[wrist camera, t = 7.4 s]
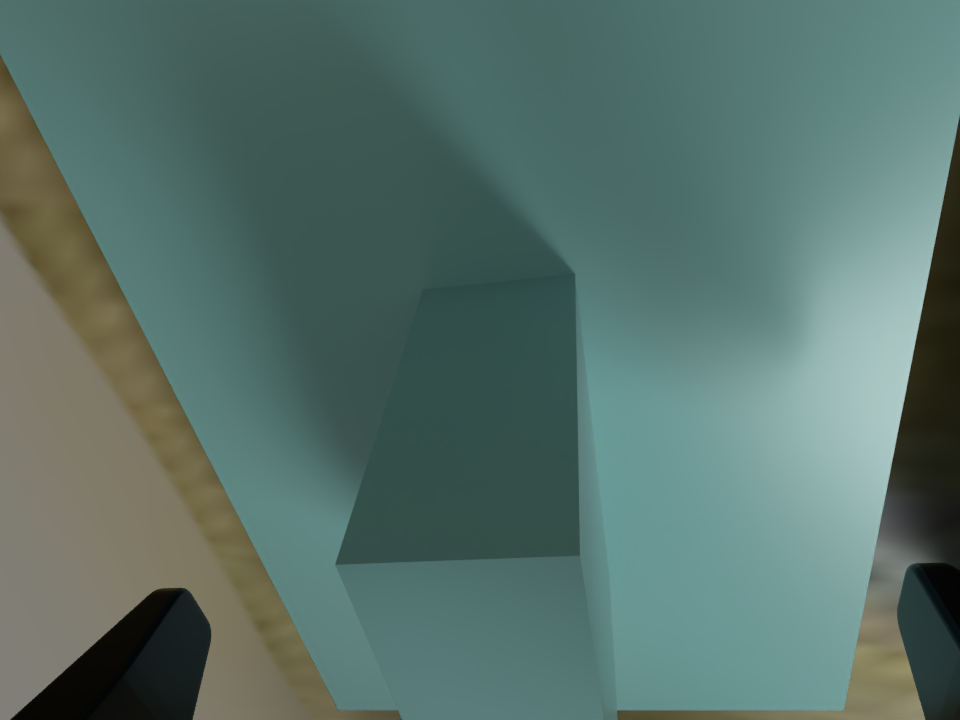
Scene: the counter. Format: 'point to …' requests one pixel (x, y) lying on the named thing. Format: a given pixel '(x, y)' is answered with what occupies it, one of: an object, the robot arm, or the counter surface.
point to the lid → (527, 318)
